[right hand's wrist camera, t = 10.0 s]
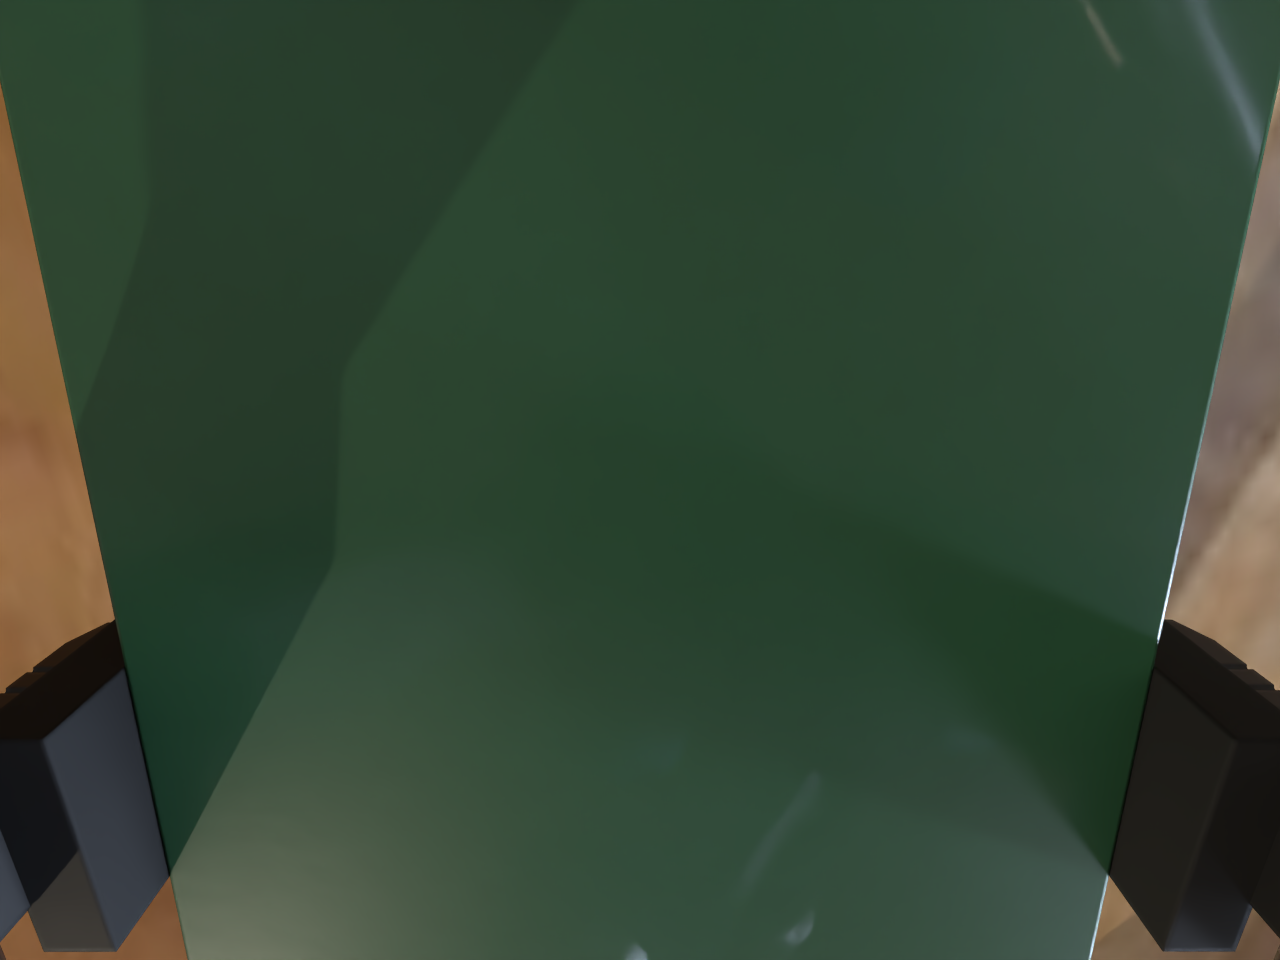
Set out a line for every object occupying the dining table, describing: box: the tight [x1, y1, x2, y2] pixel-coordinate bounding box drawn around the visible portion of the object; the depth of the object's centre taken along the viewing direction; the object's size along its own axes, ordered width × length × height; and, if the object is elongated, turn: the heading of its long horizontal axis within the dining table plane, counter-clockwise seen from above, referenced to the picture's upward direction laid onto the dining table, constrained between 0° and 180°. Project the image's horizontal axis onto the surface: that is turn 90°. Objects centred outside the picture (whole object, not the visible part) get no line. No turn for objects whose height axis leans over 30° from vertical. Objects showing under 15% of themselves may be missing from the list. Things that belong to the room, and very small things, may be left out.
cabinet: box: [0, 0, 1280, 960], centre depth 12 cm, size 17×11×12 cm, turn 0°
